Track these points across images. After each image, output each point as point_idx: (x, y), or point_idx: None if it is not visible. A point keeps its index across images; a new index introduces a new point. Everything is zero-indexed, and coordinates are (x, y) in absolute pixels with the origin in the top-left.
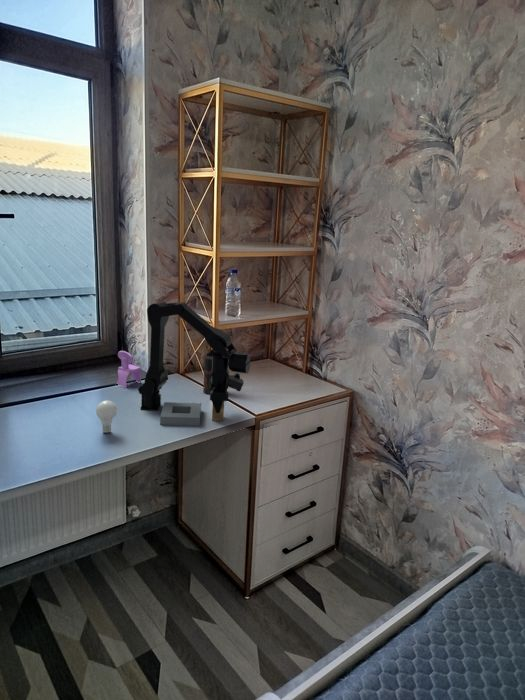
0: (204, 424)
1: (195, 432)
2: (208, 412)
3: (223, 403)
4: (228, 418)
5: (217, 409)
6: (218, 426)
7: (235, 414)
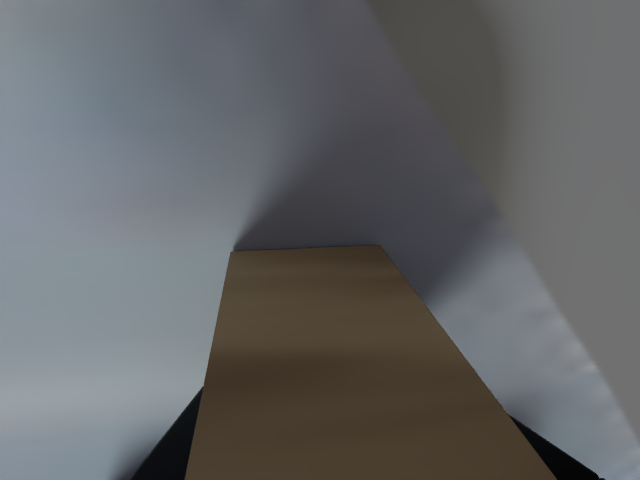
0: None
1: (608, 451)
2: (125, 420)
3: (537, 474)
4: (286, 176)
5: None
6: (523, 287)
7: (99, 55)
